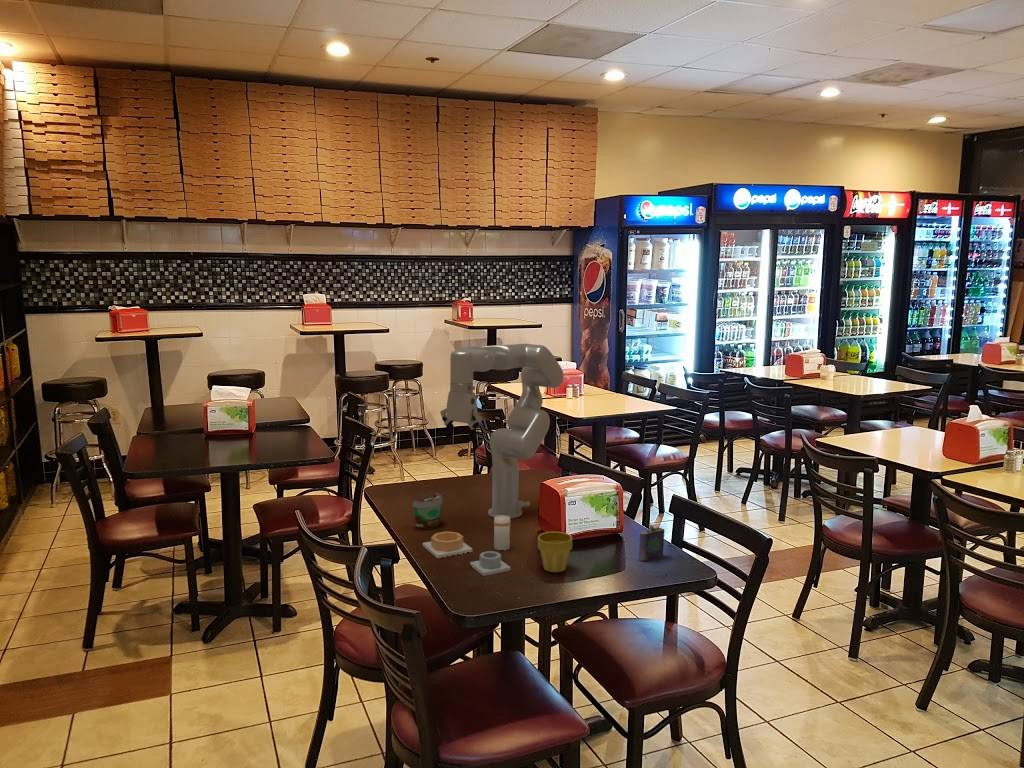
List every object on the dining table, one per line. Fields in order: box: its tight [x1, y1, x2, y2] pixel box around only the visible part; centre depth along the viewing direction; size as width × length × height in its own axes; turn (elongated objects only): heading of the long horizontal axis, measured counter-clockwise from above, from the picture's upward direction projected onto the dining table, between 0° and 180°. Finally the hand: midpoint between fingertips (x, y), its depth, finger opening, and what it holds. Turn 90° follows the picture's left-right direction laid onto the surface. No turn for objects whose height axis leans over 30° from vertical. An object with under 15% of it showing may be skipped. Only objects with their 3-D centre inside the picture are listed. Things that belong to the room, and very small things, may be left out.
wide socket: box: [422, 530, 473, 559], centre depth 239 cm, size 12×12×4 cm
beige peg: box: [493, 515, 511, 551], centre depth 240 cm, size 5×5×10 cm
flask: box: [638, 523, 665, 562], centre depth 233 cm, size 9×3×11 cm, turn 121°
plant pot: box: [537, 531, 573, 573], centre depth 224 cm, size 10×10×10 cm
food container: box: [412, 492, 444, 530], centre depth 259 cm, size 12×6×10 cm, turn 143°
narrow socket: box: [469, 550, 512, 577], centre depth 224 cm, size 9×9×4 cm
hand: (461, 438), depth 250 cm, fingers open, 9 cm apart
